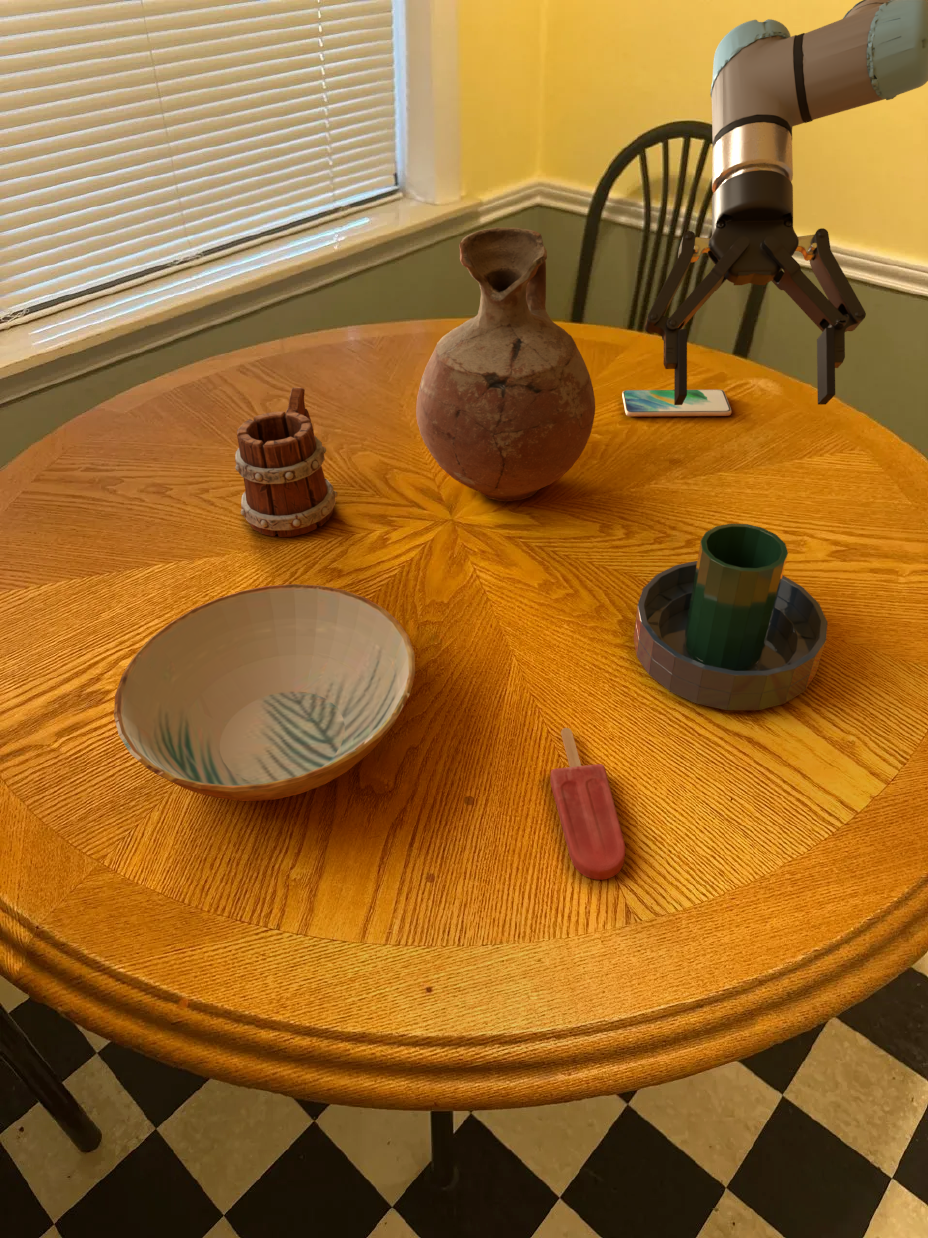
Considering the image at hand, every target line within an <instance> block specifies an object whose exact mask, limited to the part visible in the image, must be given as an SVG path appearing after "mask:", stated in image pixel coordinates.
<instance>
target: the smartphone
mask: <svg viewBox="0 0 928 1238" xmlns="http://www.w3.org/2000/svg"><path fill="white" fill-rule="evenodd" d="M621 396H622V402H623V407H624V408H623V409H624V413H625V415H626V416H627V417H727V416H731V414H732V408H731V405H730V402H729V400H728V397H727V395H726V392H725V391H724V390H723V389H717V388H716V389H687V396H686V398H685V400H684V402H683V404H682V405H674V389H626V390H623V391H622V393H621Z"/></svg>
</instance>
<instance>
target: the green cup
mask: <svg viewBox="0 0 928 1238" xmlns="http://www.w3.org/2000/svg"><path fill="white" fill-rule="evenodd" d="M788 555H789V551H788V548H787V545H786V543H785V542H784V540H782V539H781V537H779V536H778V535H777V534H776V533H774V532H772V531H770V530H768V529H767V528H764V527H760V526H757V525H753V524H748V523H726V524H720V525H715V526H714V527H712V528H711V529H709V530H707V531H706V532H704V534H703V536H702V538H701V539H700V542H699V548H698V555H697V560H696V561H697V566H696V572H695V578H694V584H693V590H692V596H691V601H690V607H689V613H688V619H687V625H686V631H685V641H684V645H685V649H686V651H687V653H688V654H689V656H690V657H691V658H692V659H693V660H695V661H697V662H700V663H702V664H704V665H709V666H714V667H719V668H723V669H728V670H733V671H745V670H748V669H750V668H752V667H754V666H755V665H756V664H757V663H758V662H759V661H760V659H761V657H762V653H763V651H764V648H765V644H766V640H767V636H768V632H769V628H770V624H771V620H772V616H773V612H774V608H775V604H776V600H777V596H778V592H779V588H780V584H781V580H782V576H783V575H784V571H785V567H786V564H787V559H788Z"/></svg>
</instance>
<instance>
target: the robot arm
mask: <svg viewBox="0 0 928 1238" xmlns="http://www.w3.org/2000/svg"><path fill="white" fill-rule="evenodd" d="M713 55H714V56H713V63H712V64H713V67H712V80H711V81H712V82H711V84H710V87H711V88H710V98H711V125H712V127H711V132H712V155H711V156H712V157H711V158H712V162H711V163H712V164H711V167H712V168H711V191H712V197H711V236H710V237H699V236H696V233H695V232H694V231H693V230H687V231H684V233H683V236H682V238H681V241H680V245H679V248H678V254H677V259H676V261H675V263H674V265H673V267H672V268H671V270H670V272H669V274H668V276H667V278H666V280H665V282H664V284H663V286H661V287H662V288H661V289H660V291H659V293H658V295H657V297H656V299H655V300H654V303H653V304H652V306H651V308H650V309H649V312H648V314H647V317H646V320H645V324H644V331H645V332H646V333H647V334H657V335H660V336H661V340H662V341H663V366H664V369H665V370H674V372H673V373H674V380H673V381H674V382H673V383H674V384H673V385H674V387H673V388H674V389H673V390H674V405H682V404H683V402H684V400H685V398H686V396H687V390H688V328H684V327H685V326H686V325H687V324H688V322H689V321H690V320H691V319H692V318H693V316H694V315H696V313H697V312H698V311H699V310H700V309H701V308H702V306H703V305H705V303H706V302H707V301H708V300H709V299H710V297H711V296H713V294H714V293H715V292H717V291H718V290H719V289H720V288H721V286H722V285H723V284H724V283H725V282H726V281H728V282H730V283H732V284H733V286H744V285H748V284H752V285H756V286H766V285H767V284H768V283H770V282H772V283H773V284H774V285H775V287H776V288H777V289H778V290H780V291H784V293H786V295H788V297H790V299H791V300H792V301H793V302H794V303H795V305H797V306H798V307H799V309H800V310H801V311H803V313H804V314H805V315H806V316H807V317H808V318H809V319H810V320H811V321H812V323H814V325H815V326H816V327H817V328H818V329H819V330H820V331H821V334H819V336H818V337H817V338H816V371H817V372H816V375H817V380H816V381H817V384H816V385H817V387H816V388H817V405H824V406H825V405H827V404H828V403H829V402H830V401H831V400H832V399H833V398H834V397H835V395H836V369H839V367H841V365H842V364H843V363H844V361H845V358H846V336H845V335H846V333H847V332H854V331H855V330H856V329H857V328H858V327H859V325H861V323H862V322H863V321H864V320H865V318H866V316H867V312H866V310H865V309H864V307H863V305H862V303H861V301H860V300H859V298H858V295H856V292H855V290H854V288H852V285H851V283H850V281H849V280H848V278H847V276H846V275H845V273H844V271H843V269H842V268H841V266H840V264H839V262H838V260H837V259H836V257H835V255H834V253H833V251H832V250H831V242H830V234H829V231H828V230H827V229H826V228H822V227H821V228H818V229H816V231H815V233H814V234H809V235H800V236H798V234H797V233H796V231H795V228H794V186H793V177H794V167H793V164H794V162H793V127H796V126H799V125H802V124H807V123H810V122H813V121H814V120H818V119H821V118H825V117H828V116H832V115H835V114H839V113H842V112H845V111H848V110H852V109H856V108H859V107H862V106H866V105H870V104H874V103H877V102H880V101H884V100H885V101H891V100H894V99H895V98H896V97H897V96H899V95H902V94H904V93H907V92H910V91H913V90H915V89H918V88H921V87H923V86H924V85H925V84H927V82H928V0H860V1H859V2H857V3H856V4H855V5H853V7H852V8H851V9H850V10H848V11H847V12H846V13H845V15H844V16H843V17H842V18H841V19H838V20H836V21H833V22H831V23H828V24H826V25H822V26H821V27H818V28H816V29H813V30H810V31H808V32H802V33H800V34H795V35H792V36H791V33H790V31H789V29H788V28H787V26H786V25H784V24H783V23H782V22H780V21H778V20H776V19H772V18H768V19H765V20H764V21H759V20H757V19H752V20H748V21H745V22H742V23H740V24H738V25H737V26H735V27H733V28H732V29H731V30H730V31H729V32H728V33H726V34H725V35H724V37H723V38H722V39H721V40H720V42H719V43H718V45H717V47H716V49H715V52H714V54H713ZM795 252H799V253H800V254H802V257H803V260H804V261H806V262H807V261H809V266H810V269H811V270H812V272H813V274H814V276H815V278H816V280H817V281H818V283H819V285H820V287H821V289H822V290H823V292H824V294H823V292H822V291H821V290H820V289H819V288H818V287H817V286H816V285H815V283H814V282H813V281H811V279H810V278H809V277H808V276H807V275H806V274H805V273H804V272H803V271H802V268H801V265H800V264H799V262H798V261H797V260H796V259H795V257H793V256H794V254H795ZM703 254H707V256H708V257H709V259H710V260H711V262H712V263H713V264H714V266H713V267H712V268H711V269H710V271H709V273H708V274H707V275H706V276H705V277H704V278H703V279H702V280H701V282H700V283H699V284H698V285H697V286H696V287H695V288H694V290H692V291H691V293H690V294H689V295H688V296H687V297H686V298H685V300H683V302H682V303H681V304H680V305H679V306H678V307H677V309H676V310H675V311H674V312H673V313H672V314H671V315H670V316H669V317H668V316H665V314H666V313H667V312H668V311H667V310H668V309H669V307H670V305H671V304H672V301H673V299H674V298H675V296H676V294H677V292H678V290H679V288H680V286H681V284H682V282H683V280H684V278H685V277H686V275H687V273H688V270H689V267H690V264H691V263H695V262H697V261H698V260H700V257H701V256H702V255H703Z"/></svg>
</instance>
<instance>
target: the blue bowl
mask: <svg viewBox="0 0 928 1238" xmlns="http://www.w3.org/2000/svg"><path fill="white" fill-rule="evenodd" d="M696 566H697V560H694V561H689V562H684V563H679V564H675V565H673V566H671V567H669V568H666V569H665V570H662V571H661V572H658V573H656V575H654V576H653V578H652V579H651V580H649V582H648V583H647V584H645V586H643V588H642V589H641V592H640V596H639V599H638V602H637V607H636V616H635V622H634V623H635V624H634V633H633V643H634V648H635V654H636V658H637V659H638V661H639V662H640V664H641V666H642V667H643V668H644V670H645V671H646V673H647V675H648V676H650V677H651V678H652V679H653V680H655V681H656V682H657V683H658V684H660V685H661V686H662V687H664V688H665V689H666V690H667V691H669V692H670V693H672V694H674V695H677V696H679V697H680V698H683V699H685V700H687V701H689V702H691V703H694V704H697V705H700V706H706V707H710V708H715V709H720V710H725V711H761V710H765V709H768V708H772V707H777V706H781V705H784V704H786V703H788V702H790V701H791V700H793V699H794V698H796V697H798V696H799V695H800V694H803V693H804V692H805V691H806V690H807V689H808V687H809V686H810V684H811V682H812V681H813V679H815V677H816V674H817V673H818V669H819V665H820V663H821V659H822V655H823V652H824V649H825V646H826V643H827V637H828V636H827V635H828V620H827V618H826V615H825V613H824V611H823V608H822V606H821V605H820V603H819V601H817V599H815V597H814V596H813V595H811V593H809V592H808V590H807V589H805V587H804V586H803V585H801V584H799V583H797V582H796V581H794V580H792V579H791V578H789V577H787V576H785V575H784V574H783V576H782V580H781V584H780V588H779V592H778V596H777V600H776V604H775V608H774V612H773V616H772V620H771V624H770V628H769V632H768V636H767V640H766V644H765V648H764V651H763V653H762V657H761V659H760V661H759V662H758V663H757V664H756V665H755V666H754V667H752V668H750V669H748V670H745V671H733V670H728V669H723V668H719V667H714V666H709V665H704V664H702V663H700V662H697V661H695V660H693V659H692V658H691V657H690V656H689V654H688V653H687V651H686V649H685V645H684V641H685V631H686V625H687V619H688V613H689V607H690V601H691V596H692V590H693V584H694V578H695V572H696Z"/></svg>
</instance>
